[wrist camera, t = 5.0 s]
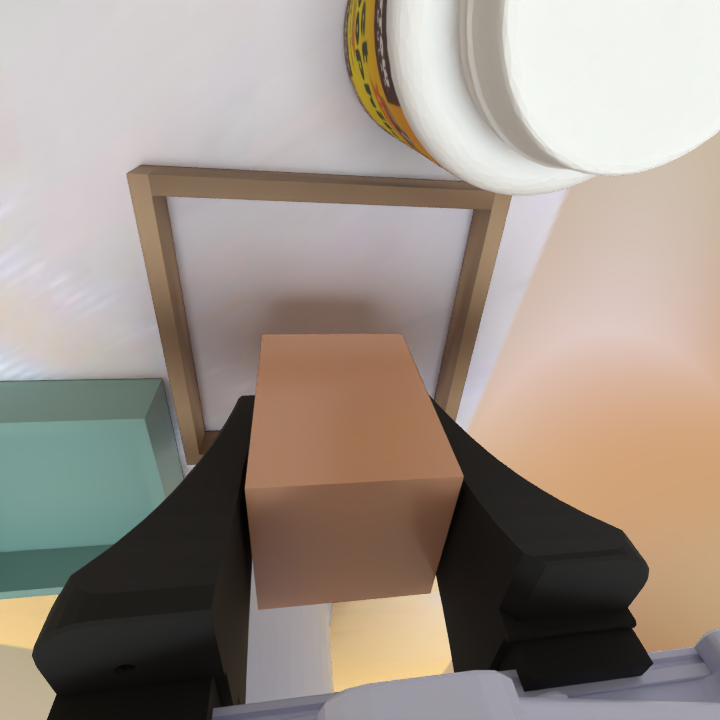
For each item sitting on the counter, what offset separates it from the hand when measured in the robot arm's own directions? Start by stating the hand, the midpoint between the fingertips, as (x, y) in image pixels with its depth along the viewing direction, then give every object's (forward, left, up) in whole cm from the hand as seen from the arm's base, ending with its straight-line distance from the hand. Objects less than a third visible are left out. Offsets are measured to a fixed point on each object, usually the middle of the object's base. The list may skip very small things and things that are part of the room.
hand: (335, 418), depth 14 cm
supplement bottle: (+10, -3, -6) cm, 12 cm away
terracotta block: (0, 0, -2) cm, 2 cm away
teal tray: (-8, +12, -6) cm, 16 cm away
